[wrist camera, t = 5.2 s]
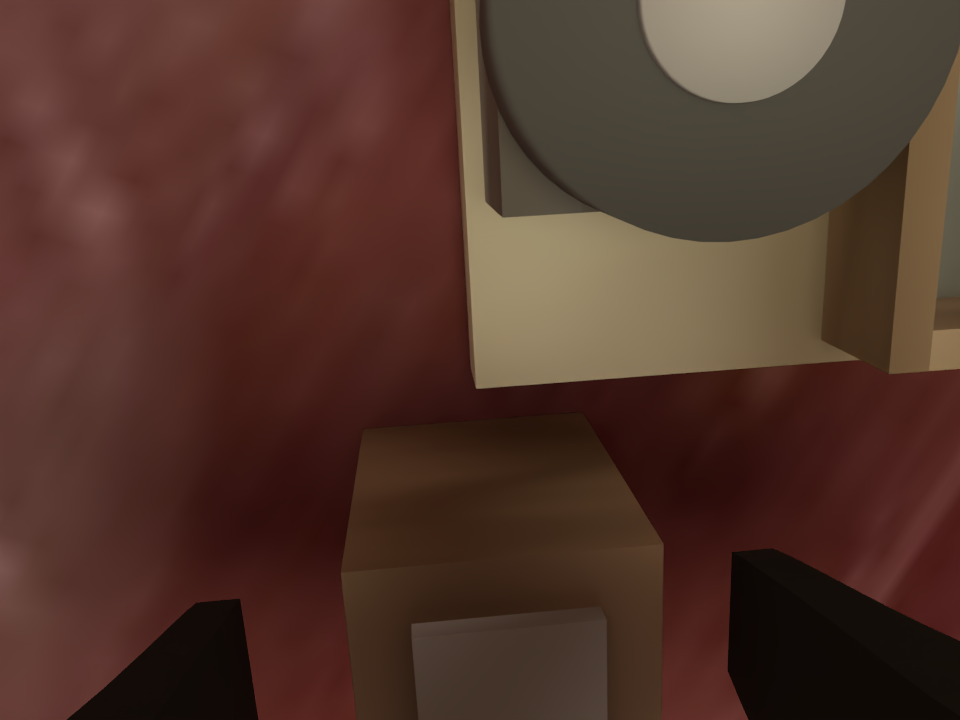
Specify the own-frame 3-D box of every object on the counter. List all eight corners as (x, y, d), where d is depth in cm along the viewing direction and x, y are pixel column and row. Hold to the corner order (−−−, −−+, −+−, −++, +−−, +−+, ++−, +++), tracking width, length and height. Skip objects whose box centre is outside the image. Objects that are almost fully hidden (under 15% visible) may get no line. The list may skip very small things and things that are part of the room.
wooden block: (581, 411, 15) (670, 556, 10) (585, 602, 16) (667, 822, 11) (363, 428, 15) (338, 585, 10) (381, 621, 16) (368, 854, 11)
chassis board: (1245, -166, 13) (1545, -272, 10) (1159, 316, 15) (1376, 371, 12) (441, -141, 12) (454, -247, 9) (470, 368, 14) (490, 442, 11)
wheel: (807, -159, 11) (1016, -311, 7) (789, 199, 12) (959, 229, 9) (455, -147, 11) (482, -301, 7) (475, 218, 12) (506, 259, 8)
